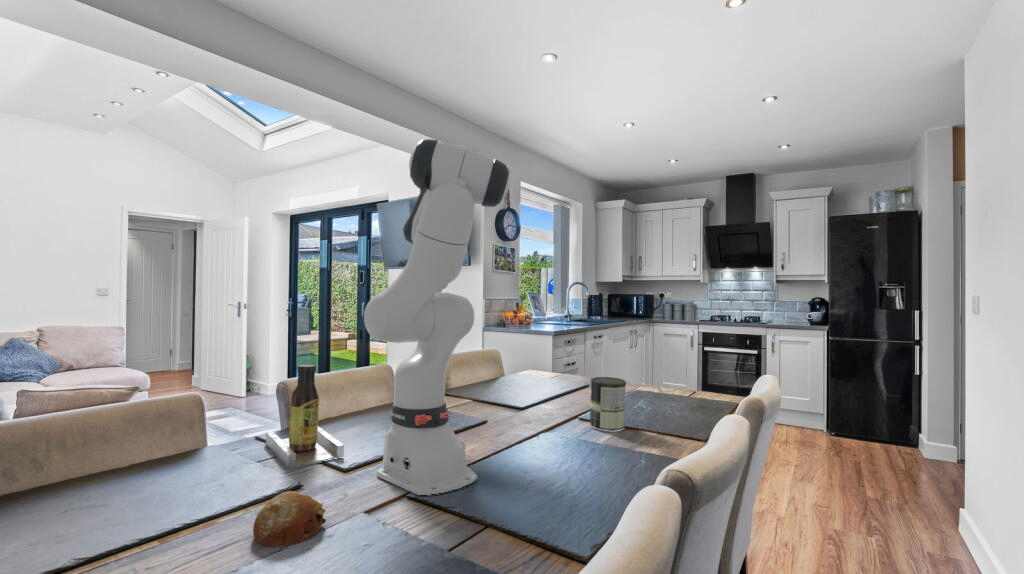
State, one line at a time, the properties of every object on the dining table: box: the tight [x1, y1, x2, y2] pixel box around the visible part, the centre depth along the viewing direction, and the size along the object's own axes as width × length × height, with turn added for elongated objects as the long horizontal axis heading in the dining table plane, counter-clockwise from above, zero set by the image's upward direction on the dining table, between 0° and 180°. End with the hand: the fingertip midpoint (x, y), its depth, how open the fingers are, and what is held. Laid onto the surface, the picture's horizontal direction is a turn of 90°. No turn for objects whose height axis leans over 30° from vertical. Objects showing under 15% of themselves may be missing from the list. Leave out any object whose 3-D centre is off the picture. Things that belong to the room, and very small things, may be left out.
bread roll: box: [252, 490, 327, 548], centre depth 77 cm, size 10×10×8 cm
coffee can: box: [589, 376, 627, 431], centre depth 142 cm, size 10×10×14 cm
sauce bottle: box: [288, 364, 320, 452], centre depth 114 cm, size 6×6×20 cm
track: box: [265, 425, 345, 470], centre depth 114 cm, size 20×12×3 cm, turn 40°
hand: (396, 310), depth 136 cm, fingers open, 8 cm apart
